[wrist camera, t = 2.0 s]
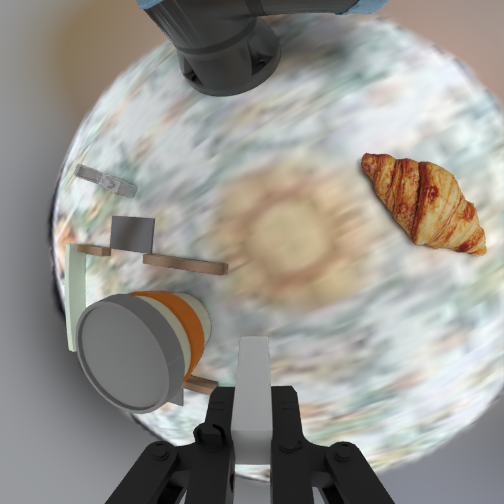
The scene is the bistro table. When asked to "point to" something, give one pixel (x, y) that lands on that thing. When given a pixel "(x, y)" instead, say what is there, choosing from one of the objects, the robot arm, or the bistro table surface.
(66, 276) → the pale grey board
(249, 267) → the bistro table surface
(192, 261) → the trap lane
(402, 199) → the croissant
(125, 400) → the reusable coffee cup
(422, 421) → the bistro table surface
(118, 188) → the lighter
